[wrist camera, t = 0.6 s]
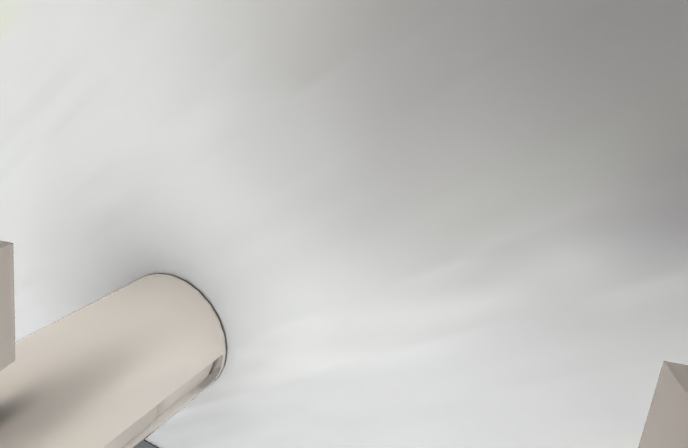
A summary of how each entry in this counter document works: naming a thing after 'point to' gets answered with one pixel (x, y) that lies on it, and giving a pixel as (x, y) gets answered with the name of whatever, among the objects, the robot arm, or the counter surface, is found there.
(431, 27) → the counter surface
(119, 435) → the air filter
